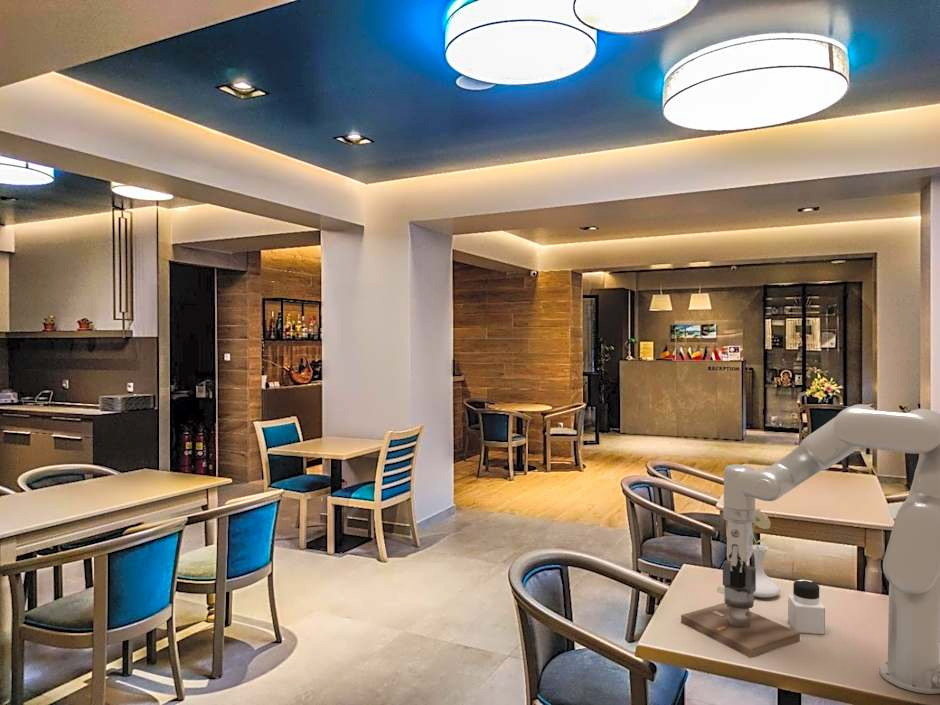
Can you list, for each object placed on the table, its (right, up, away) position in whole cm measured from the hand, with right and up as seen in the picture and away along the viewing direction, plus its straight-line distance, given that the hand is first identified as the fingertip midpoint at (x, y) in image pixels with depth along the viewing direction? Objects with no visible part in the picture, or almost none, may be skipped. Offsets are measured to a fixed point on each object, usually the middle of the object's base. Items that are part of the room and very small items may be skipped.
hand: (738, 583), depth 172 cm
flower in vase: (+16, -12, +26) cm, 33 cm away
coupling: (0, -5, +1) cm, 5 cm away
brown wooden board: (0, -12, 0) cm, 12 cm away
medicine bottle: (+18, -13, +2) cm, 22 cm away
